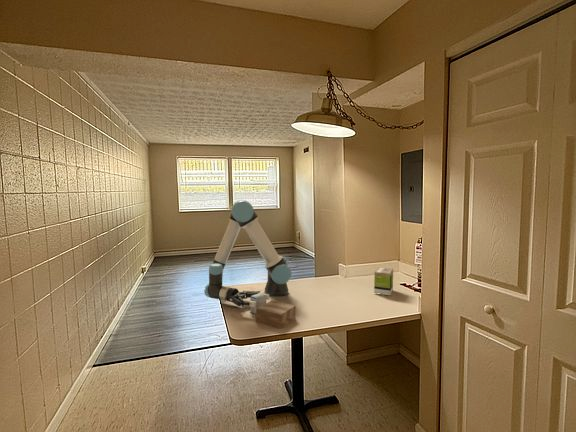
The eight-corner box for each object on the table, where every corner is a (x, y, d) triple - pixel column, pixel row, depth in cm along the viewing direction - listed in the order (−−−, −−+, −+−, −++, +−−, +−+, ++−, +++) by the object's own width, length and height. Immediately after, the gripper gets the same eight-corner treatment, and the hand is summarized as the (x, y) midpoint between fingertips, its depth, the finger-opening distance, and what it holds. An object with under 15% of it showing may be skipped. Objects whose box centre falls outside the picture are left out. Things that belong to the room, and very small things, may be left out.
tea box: (377, 288, 212) (378, 266, 211) (393, 290, 208) (394, 268, 207) (373, 294, 199) (374, 271, 198) (389, 296, 194) (390, 273, 193)
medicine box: (260, 308, 169) (260, 292, 169) (266, 310, 167) (266, 294, 166) (250, 312, 163) (250, 295, 163) (256, 314, 160) (256, 297, 160)
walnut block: (271, 313, 162) (271, 300, 162) (295, 319, 156) (295, 305, 155) (256, 322, 150) (256, 308, 150) (281, 329, 143) (281, 314, 143)
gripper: (242, 294, 184) (273, 300, 175) (214, 308, 162) (249, 315, 152) (242, 282, 184) (273, 287, 174) (214, 293, 161) (249, 300, 152)
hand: (262, 300), depth 163 cm, fingers open, 13 cm apart
